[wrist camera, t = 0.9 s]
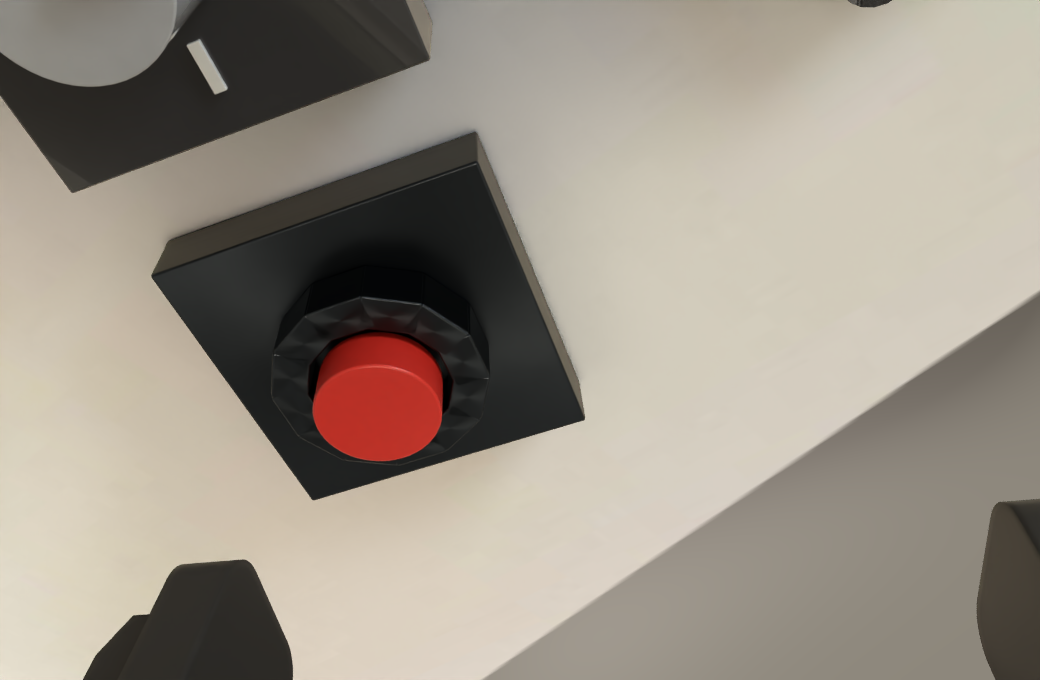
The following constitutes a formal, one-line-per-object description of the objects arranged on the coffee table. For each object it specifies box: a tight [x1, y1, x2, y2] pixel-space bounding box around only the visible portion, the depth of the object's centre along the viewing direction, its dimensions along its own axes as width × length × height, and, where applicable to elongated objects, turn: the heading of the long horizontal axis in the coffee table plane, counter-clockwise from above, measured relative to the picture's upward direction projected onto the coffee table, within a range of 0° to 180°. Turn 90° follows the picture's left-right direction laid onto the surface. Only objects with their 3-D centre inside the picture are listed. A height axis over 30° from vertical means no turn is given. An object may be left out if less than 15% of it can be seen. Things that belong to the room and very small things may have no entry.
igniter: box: [151, 132, 585, 500], centre depth 31 cm, size 11×11×4 cm
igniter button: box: [313, 332, 443, 461], centre depth 29 cm, size 4×4×2 cm
